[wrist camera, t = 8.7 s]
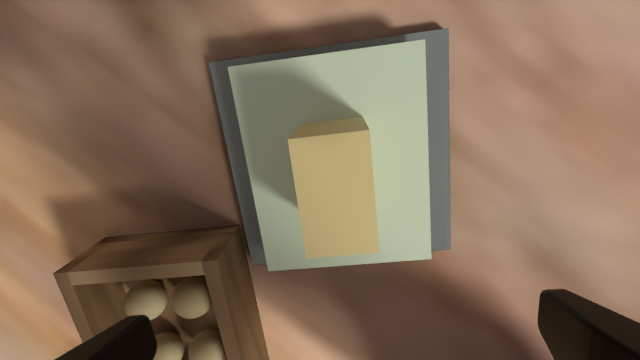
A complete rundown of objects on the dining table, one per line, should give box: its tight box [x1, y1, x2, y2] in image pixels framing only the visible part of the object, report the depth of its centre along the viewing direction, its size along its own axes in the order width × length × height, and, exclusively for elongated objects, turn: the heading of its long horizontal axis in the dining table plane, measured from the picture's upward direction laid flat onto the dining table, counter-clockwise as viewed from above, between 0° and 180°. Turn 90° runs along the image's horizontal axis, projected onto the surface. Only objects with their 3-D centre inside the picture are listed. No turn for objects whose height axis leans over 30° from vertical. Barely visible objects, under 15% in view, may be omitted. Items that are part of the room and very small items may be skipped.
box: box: [53, 225, 269, 360], centre depth 20 cm, size 9×11×4 cm
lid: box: [228, 39, 432, 271], centre depth 15 cm, size 9×11×6 cm
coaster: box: [209, 28, 451, 265], centre depth 18 cm, size 12×12×1 cm
